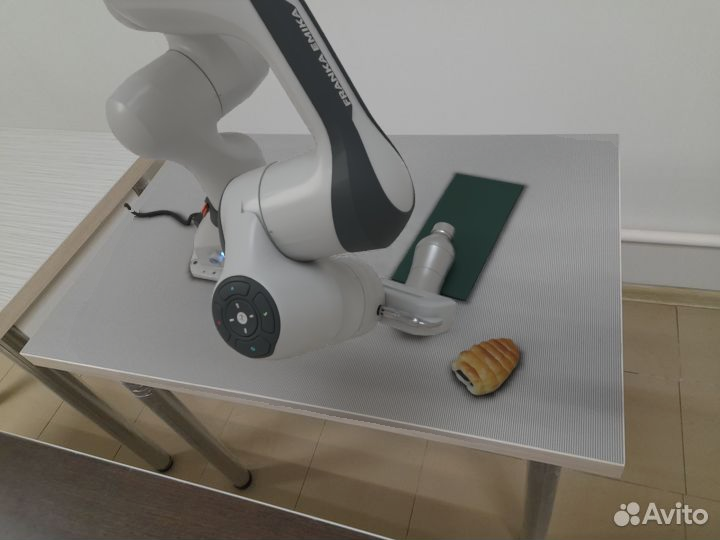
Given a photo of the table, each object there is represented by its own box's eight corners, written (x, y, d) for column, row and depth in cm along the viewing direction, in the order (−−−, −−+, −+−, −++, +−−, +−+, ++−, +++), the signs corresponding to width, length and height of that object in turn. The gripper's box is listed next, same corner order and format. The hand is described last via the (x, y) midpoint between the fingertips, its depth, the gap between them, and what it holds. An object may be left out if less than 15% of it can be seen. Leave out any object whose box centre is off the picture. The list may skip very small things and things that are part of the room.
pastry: (497, 334, 76) (497, 319, 74) (532, 365, 72) (533, 350, 69) (447, 370, 74) (445, 356, 71) (480, 405, 70) (479, 391, 67)
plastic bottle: (430, 323, 73) (466, 221, 84) (385, 310, 75) (426, 211, 85) (428, 345, 78) (463, 246, 89) (386, 332, 80) (424, 237, 91)
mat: (465, 301, 81) (465, 299, 81) (391, 279, 87) (391, 278, 87) (523, 186, 96) (523, 185, 95) (456, 174, 101) (456, 173, 101)
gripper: (437, 297, 51) (478, 286, 63) (273, 247, 60) (336, 246, 72) (423, 358, 52) (465, 336, 64) (264, 300, 61) (327, 290, 73)
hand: (395, 288), depth 68 cm, fingers closed
